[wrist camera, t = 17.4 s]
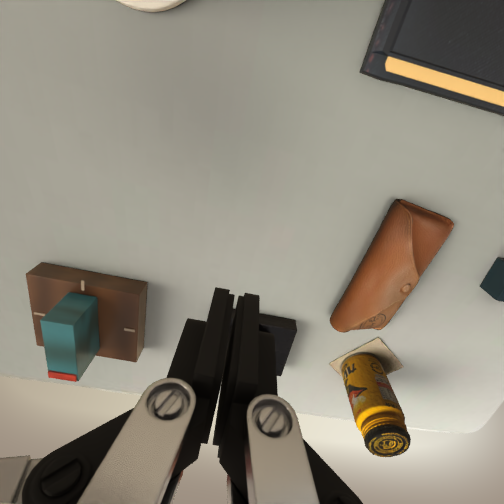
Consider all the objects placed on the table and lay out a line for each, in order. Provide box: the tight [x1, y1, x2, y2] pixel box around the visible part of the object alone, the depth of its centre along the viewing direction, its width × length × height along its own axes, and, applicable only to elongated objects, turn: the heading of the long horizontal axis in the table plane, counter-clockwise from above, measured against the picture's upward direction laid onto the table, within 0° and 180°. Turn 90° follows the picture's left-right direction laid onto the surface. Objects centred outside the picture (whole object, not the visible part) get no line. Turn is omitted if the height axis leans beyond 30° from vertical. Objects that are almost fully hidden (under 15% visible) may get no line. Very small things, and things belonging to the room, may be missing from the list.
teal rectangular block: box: [40, 292, 100, 382], centre depth 38 cm, size 9×4×6 cm, turn 169°
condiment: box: [329, 337, 411, 457], centre depth 41 cm, size 7×8×12 cm
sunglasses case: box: [330, 199, 454, 332], centre depth 37 cm, size 18×7×7 cm
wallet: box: [360, 0, 504, 116], centre depth 26 cm, size 20×2×15 cm
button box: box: [226, 309, 297, 376], centre depth 43 cm, size 12×9×4 cm
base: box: [26, 263, 147, 362], centre depth 42 cm, size 14×13×3 cm
